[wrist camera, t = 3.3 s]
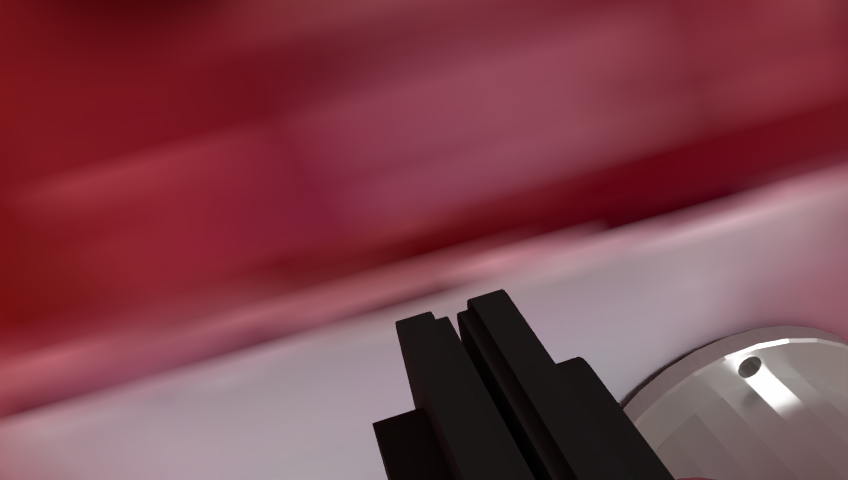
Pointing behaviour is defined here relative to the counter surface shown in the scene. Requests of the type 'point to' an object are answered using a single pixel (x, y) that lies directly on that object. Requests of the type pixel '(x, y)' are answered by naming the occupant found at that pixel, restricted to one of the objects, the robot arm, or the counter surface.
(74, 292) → the counter surface
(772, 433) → the robot arm
